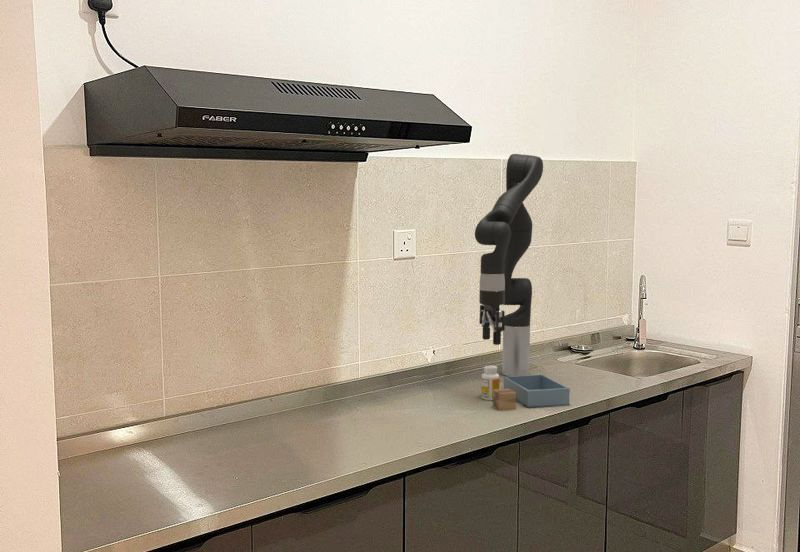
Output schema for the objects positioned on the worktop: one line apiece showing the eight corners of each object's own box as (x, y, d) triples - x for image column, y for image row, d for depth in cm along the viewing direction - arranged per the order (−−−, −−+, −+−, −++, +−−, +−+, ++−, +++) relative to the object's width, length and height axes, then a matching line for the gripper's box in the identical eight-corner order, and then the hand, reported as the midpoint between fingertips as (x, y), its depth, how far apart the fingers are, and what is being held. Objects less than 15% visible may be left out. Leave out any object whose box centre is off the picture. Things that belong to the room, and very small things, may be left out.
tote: (503, 392, 239) (503, 376, 239) (542, 389, 243) (542, 374, 242) (527, 408, 222) (528, 391, 221) (569, 405, 225) (569, 388, 225)
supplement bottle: (498, 396, 235) (499, 364, 234) (499, 400, 230) (499, 368, 229) (481, 395, 236) (481, 364, 235) (481, 400, 231) (481, 368, 230)
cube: (492, 406, 224) (493, 389, 224) (508, 405, 225) (509, 388, 225) (499, 411, 219) (499, 393, 219) (515, 409, 221) (516, 392, 220)
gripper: (471, 286, 235) (471, 338, 237) (489, 291, 222) (488, 346, 223) (494, 285, 237) (494, 337, 239) (513, 290, 224) (512, 345, 225)
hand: (491, 341), depth 231 cm, fingers open, 8 cm apart
